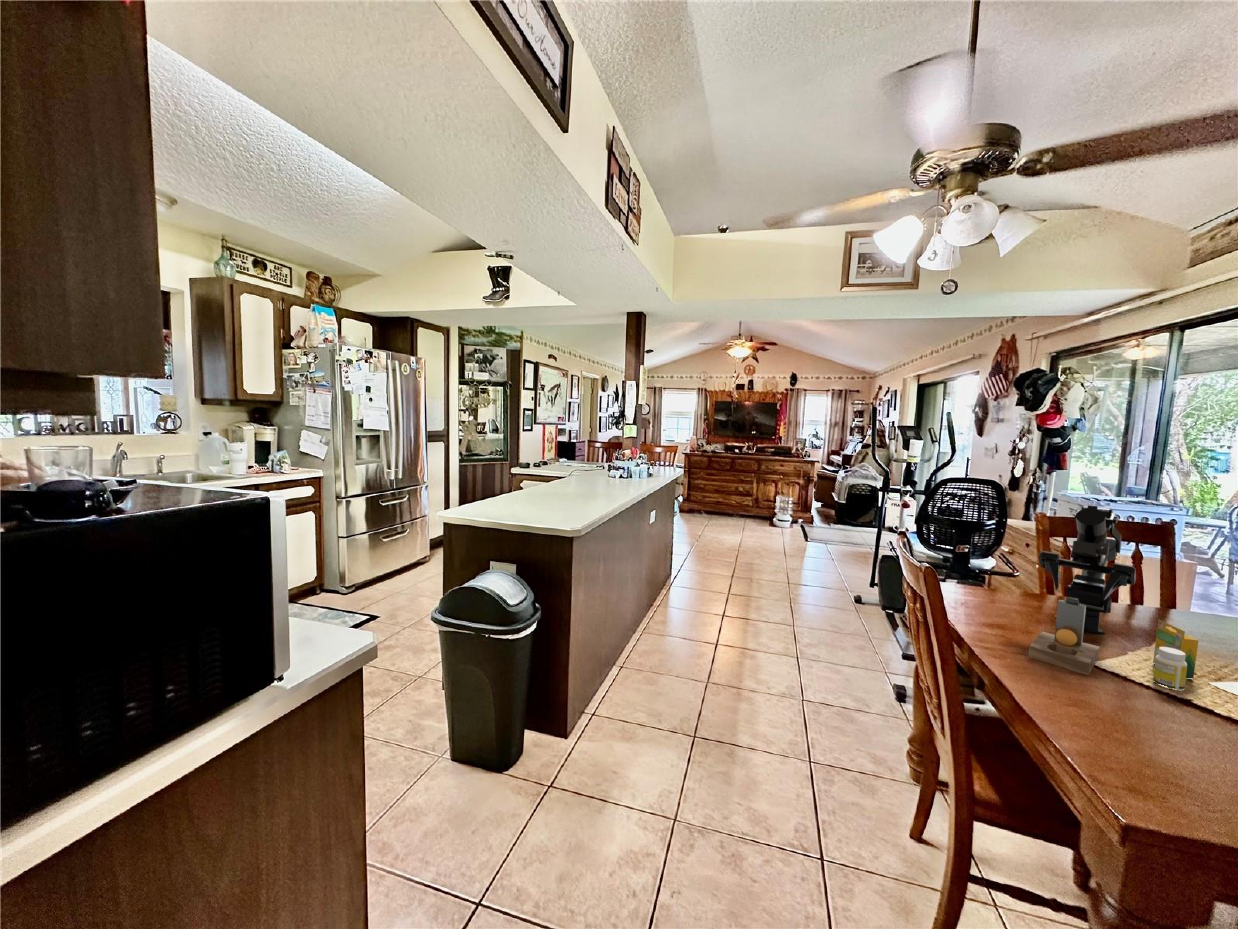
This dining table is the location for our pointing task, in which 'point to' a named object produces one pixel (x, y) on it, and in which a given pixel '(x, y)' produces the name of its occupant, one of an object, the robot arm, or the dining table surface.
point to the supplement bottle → (1170, 668)
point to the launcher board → (1064, 653)
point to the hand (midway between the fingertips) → (1079, 593)
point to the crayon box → (1177, 644)
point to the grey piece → (1071, 617)
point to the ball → (1066, 637)
